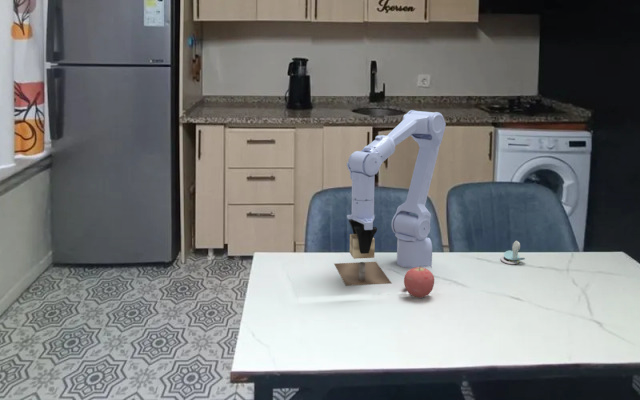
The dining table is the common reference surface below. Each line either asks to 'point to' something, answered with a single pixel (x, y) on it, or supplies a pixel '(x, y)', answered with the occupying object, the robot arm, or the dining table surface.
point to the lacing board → (354, 274)
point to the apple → (419, 282)
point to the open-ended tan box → (356, 251)
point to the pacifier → (512, 254)
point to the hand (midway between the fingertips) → (362, 249)
